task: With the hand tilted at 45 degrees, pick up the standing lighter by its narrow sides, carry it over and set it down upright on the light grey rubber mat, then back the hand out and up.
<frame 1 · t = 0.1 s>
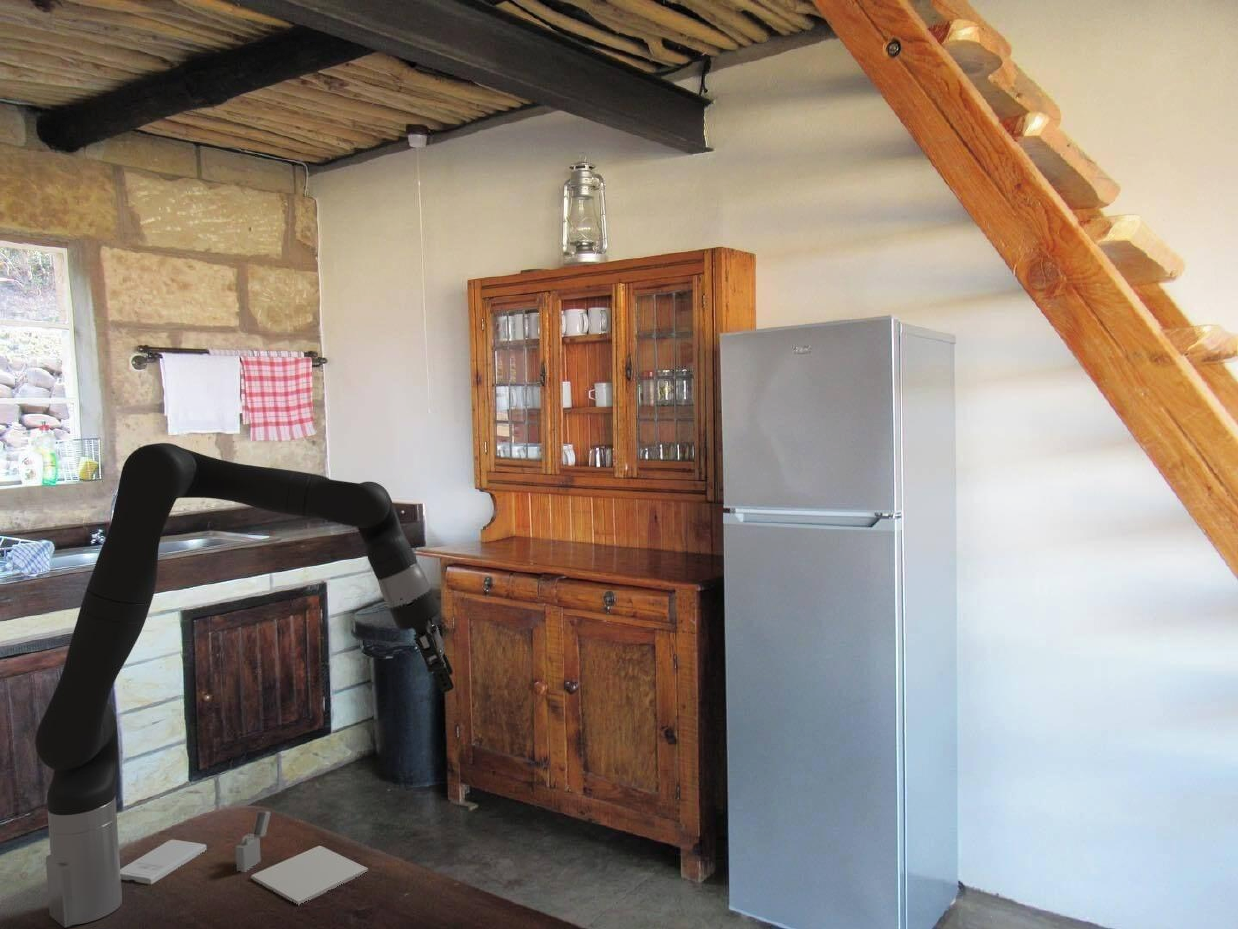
hand: (447, 683, 155), 31 cm above the table, tool tilted 20°, fingers open, 8 cm apart
mat: (309, 875, 155), on the table
external hard drive: (161, 867, 161), on the table
lighter: (254, 863, 161), on the table
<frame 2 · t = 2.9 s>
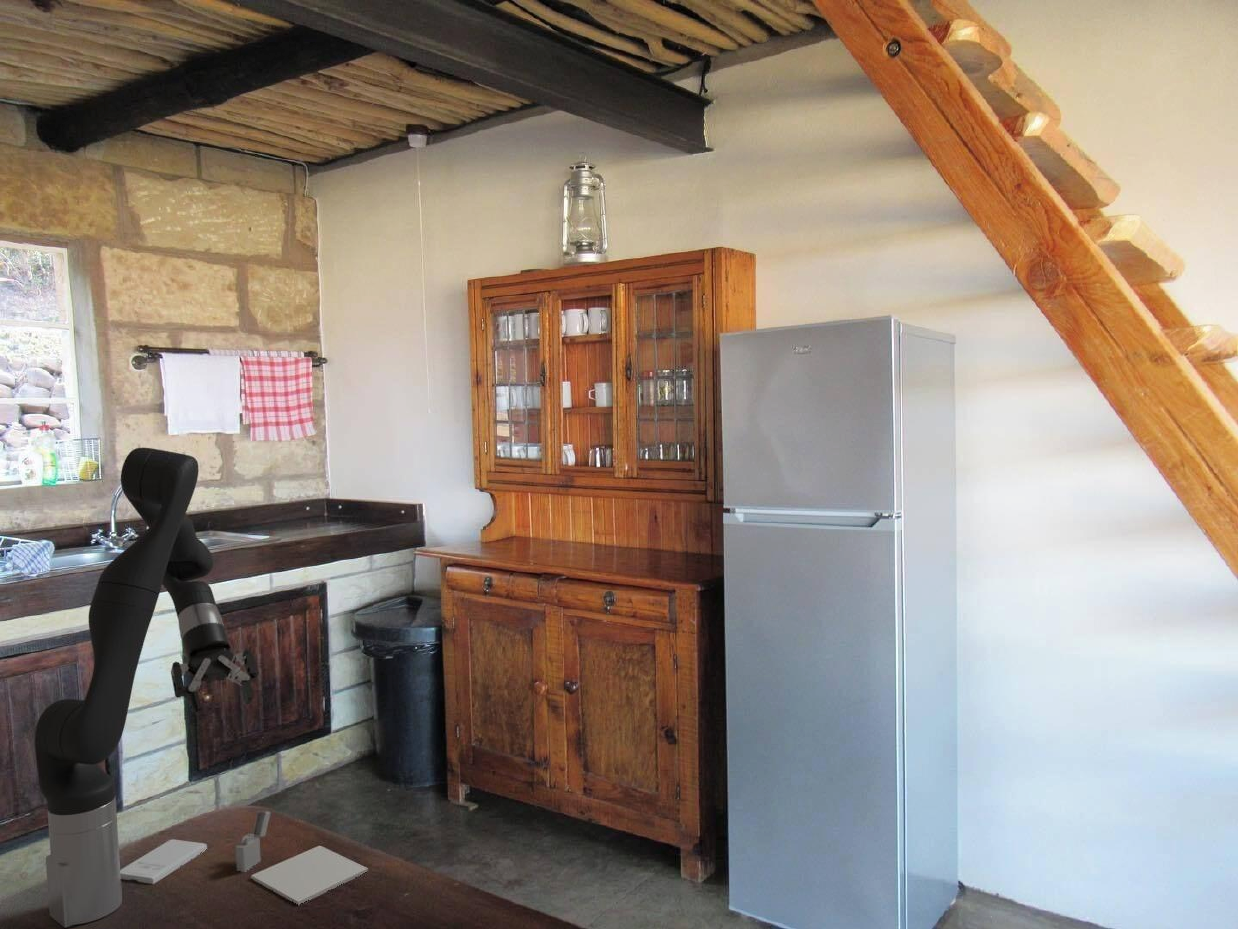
hand: (224, 707, 168), 24 cm above the table, tool tilted 45°, fingers open, 8 cm apart
nothing on the table moved.
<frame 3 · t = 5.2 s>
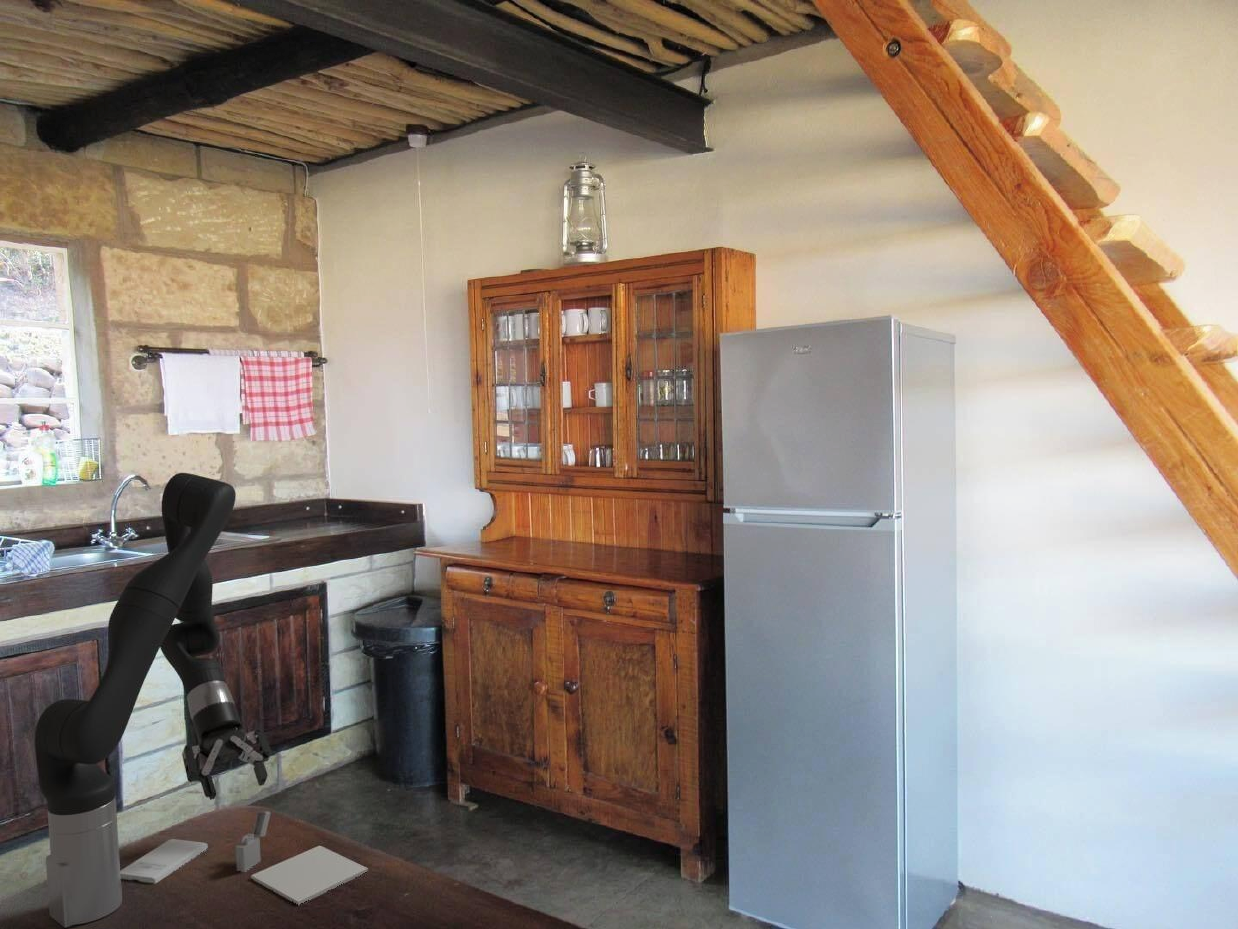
hand: (238, 790, 165), 11 cm above the table, tool tilted 45°, fingers open, 8 cm apart
nothing on the table moved.
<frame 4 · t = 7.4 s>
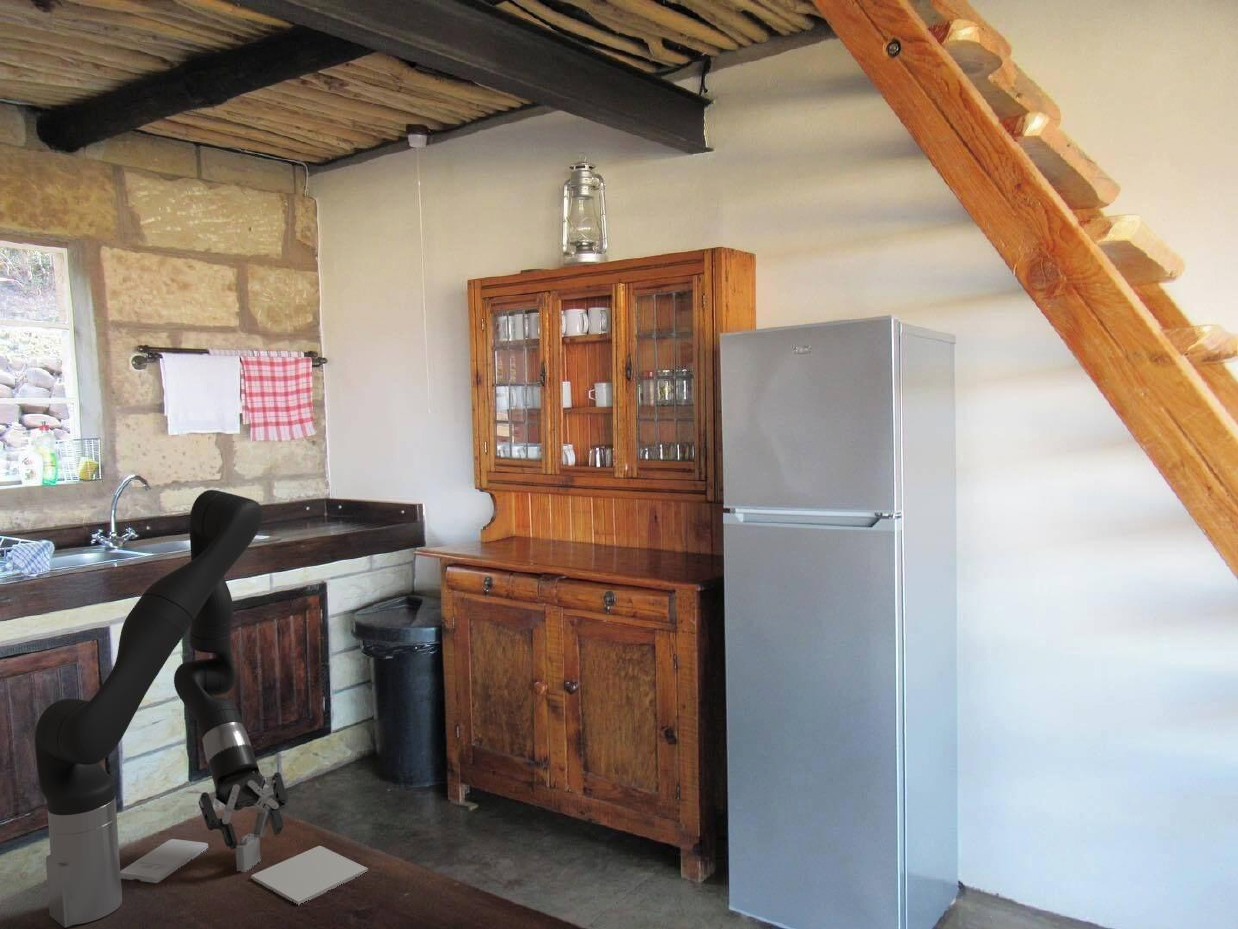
hand: (256, 839, 159), 4 cm above the table, tool tilted 45°, fingers closed on lighter, 7 cm apart
lighter: (254, 863, 161), on the table, touching gripper
everything else where it was.
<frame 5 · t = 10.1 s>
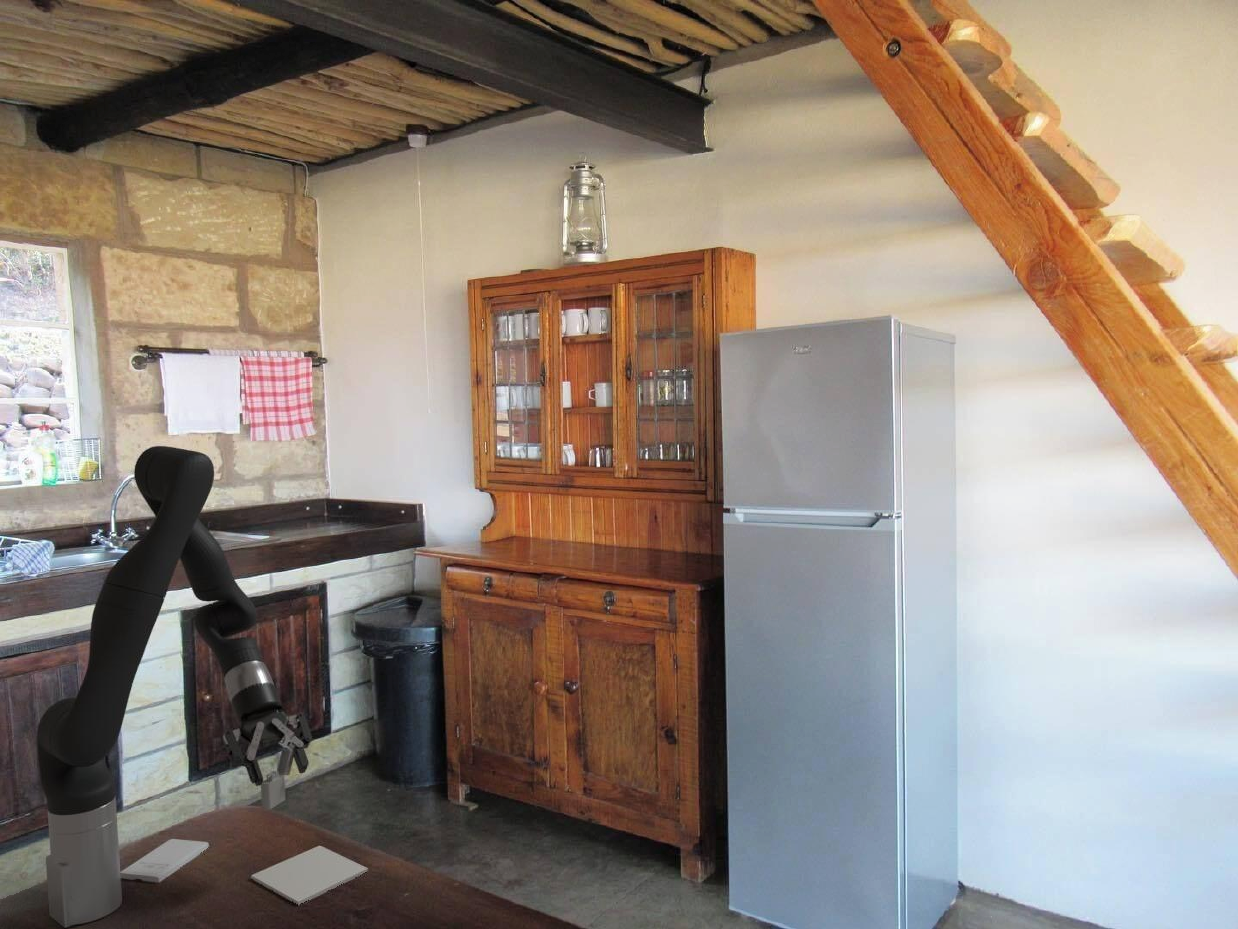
hand: (282, 777, 156), 16 cm above the table, tool tilted 45°, fingers closed on lighter, 7 cm apart
lighter: (279, 801, 158), point 12 cm above the table, touching gripper
everything else where it was.
when the fingers open (6 cm above the table, at t = 13.1 s): lighter drops 1 cm, resting on mat.
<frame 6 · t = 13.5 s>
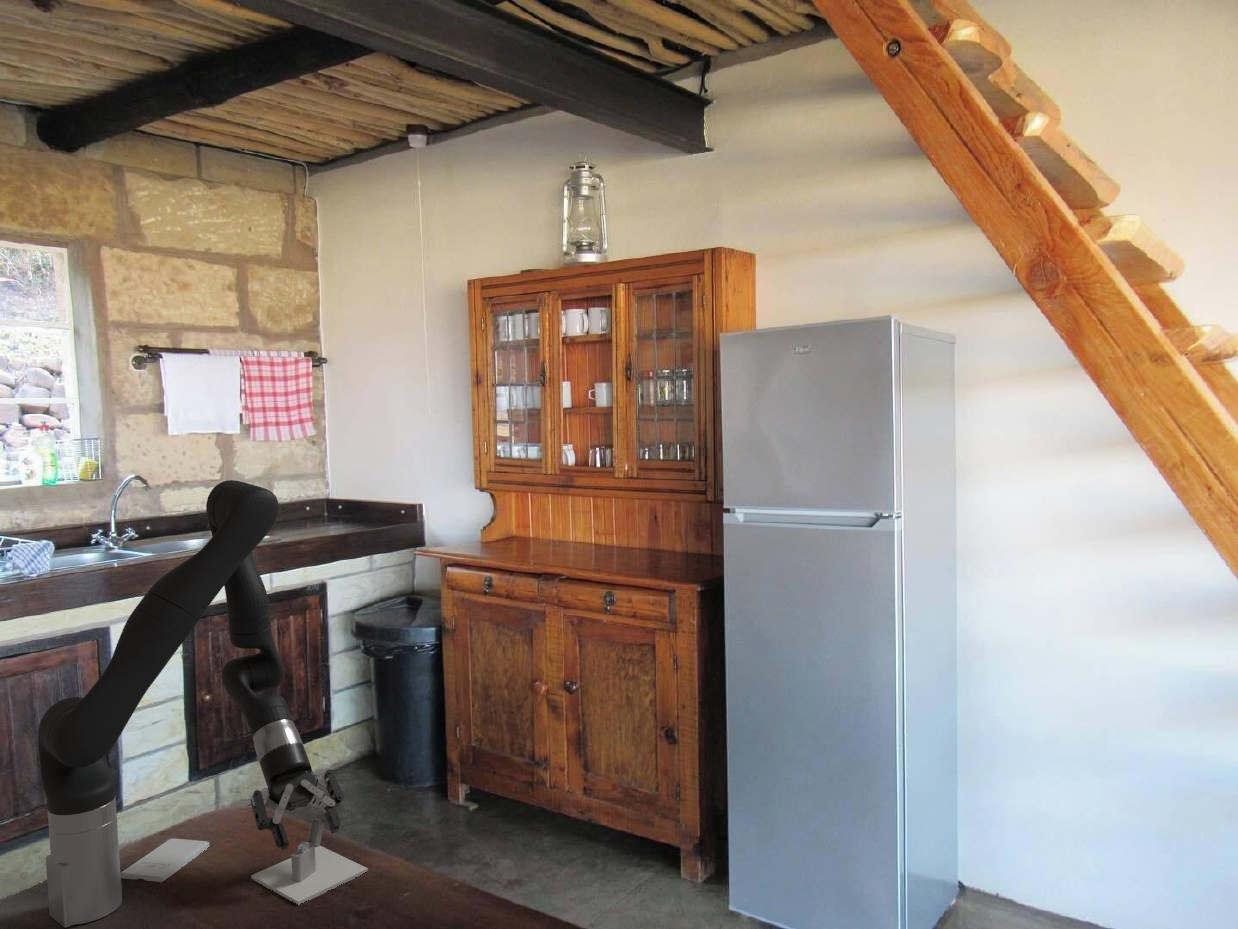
hand: (311, 839, 154), 7 cm above the table, tool tilted 45°, fingers open, 8 cm apart
lighter: (310, 872, 156), resting on mat
everything else where it was.
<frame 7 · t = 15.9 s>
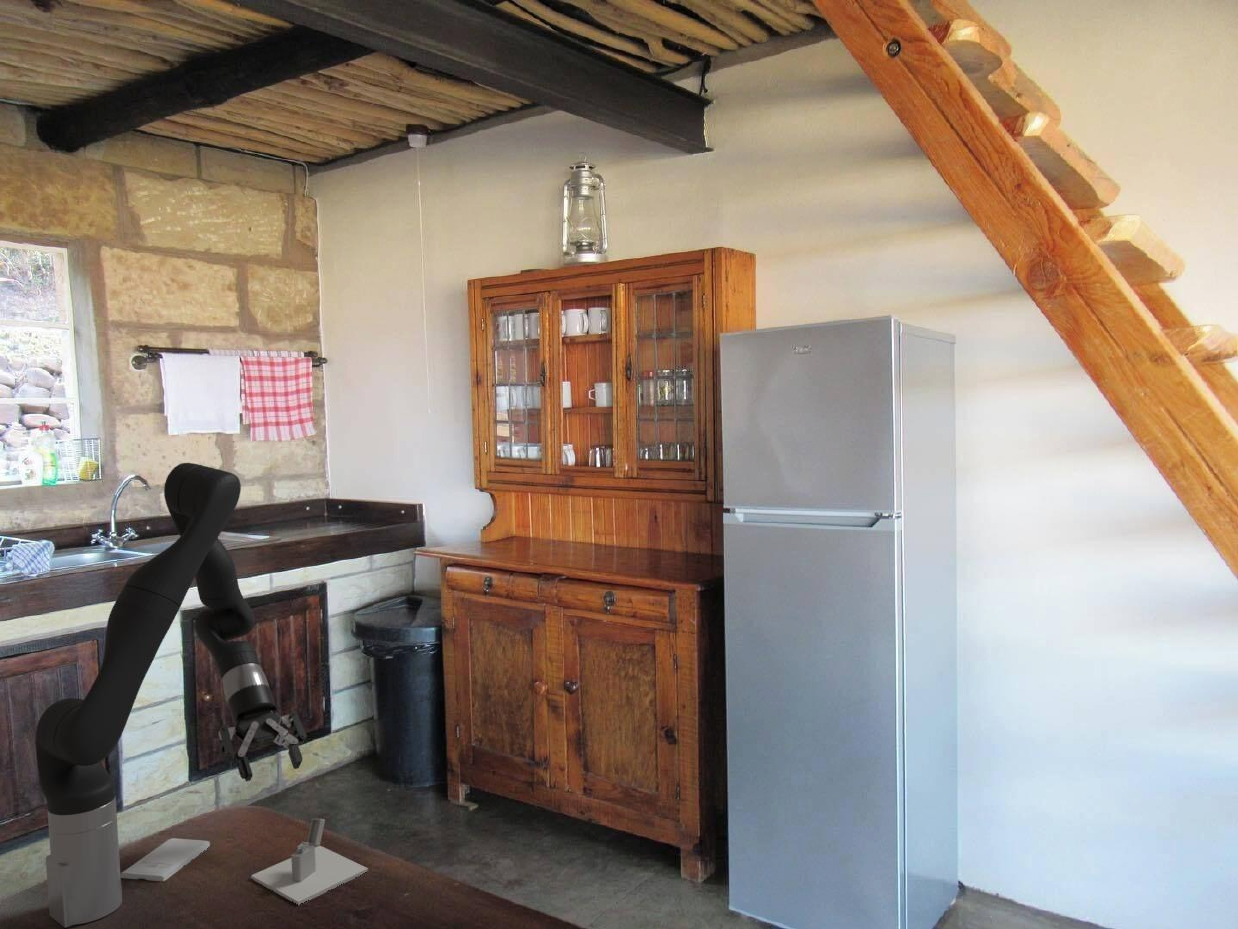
hand: (274, 772, 164), 14 cm above the table, tool tilted 45°, fingers open, 8 cm apart
nothing on the table moved.
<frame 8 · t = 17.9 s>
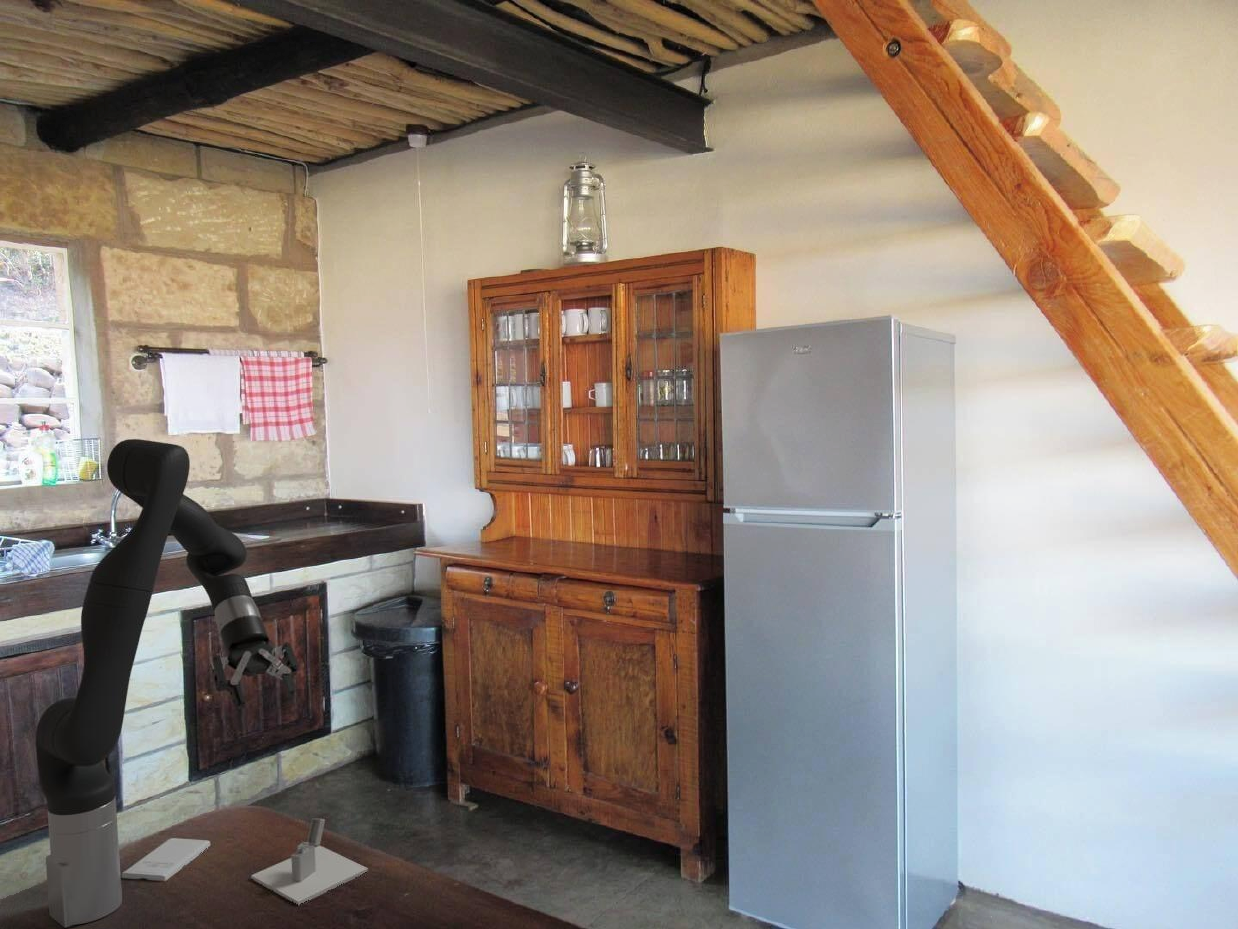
hand: (267, 701, 164), 27 cm above the table, tool tilted 45°, fingers open, 8 cm apart
at the end: lighter inside the target area on the mat (0.3 cm from its centre), point 0.4 cm above the mat's base; lighter tilted 0°; the gripper is holding nothing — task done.
